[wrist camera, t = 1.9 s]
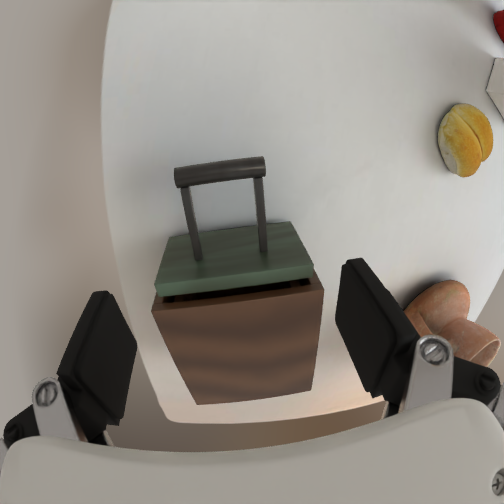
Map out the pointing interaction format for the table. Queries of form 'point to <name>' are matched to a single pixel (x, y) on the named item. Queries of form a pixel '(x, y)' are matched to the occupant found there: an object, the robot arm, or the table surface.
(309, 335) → the cabinet
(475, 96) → the table surface
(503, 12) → the plastic cup
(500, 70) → the milk carton
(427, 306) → the ceramic jug
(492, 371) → the robot arm
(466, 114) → the bread roll
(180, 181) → the drawer
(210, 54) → the table surface
